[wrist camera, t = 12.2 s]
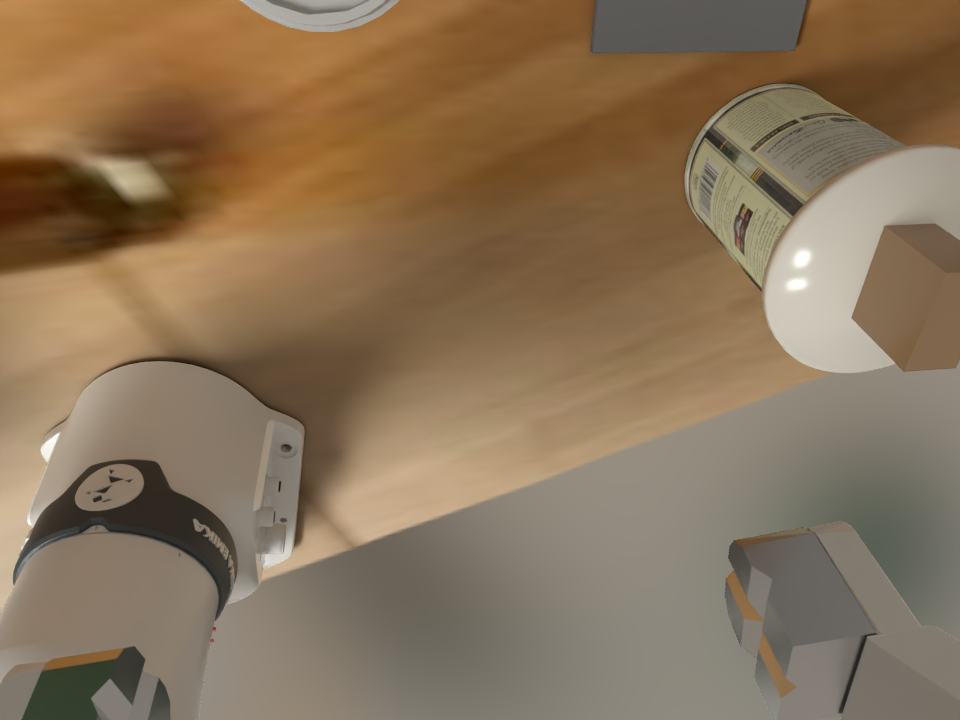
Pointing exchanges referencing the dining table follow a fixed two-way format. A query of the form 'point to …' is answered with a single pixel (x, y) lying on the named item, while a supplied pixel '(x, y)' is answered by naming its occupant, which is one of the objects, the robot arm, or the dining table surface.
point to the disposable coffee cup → (321, 12)
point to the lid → (873, 267)
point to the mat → (695, 25)
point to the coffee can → (770, 165)
